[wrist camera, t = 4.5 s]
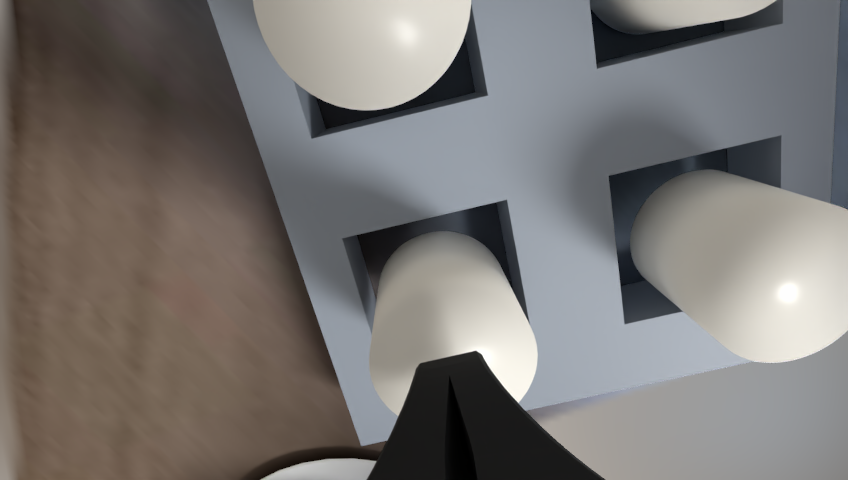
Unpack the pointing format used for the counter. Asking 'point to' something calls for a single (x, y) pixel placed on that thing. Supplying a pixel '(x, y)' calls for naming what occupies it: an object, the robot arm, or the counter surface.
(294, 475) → the pudding
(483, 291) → the button
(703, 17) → the button
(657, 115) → the board
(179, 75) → the counter surface
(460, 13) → the button
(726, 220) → the button
